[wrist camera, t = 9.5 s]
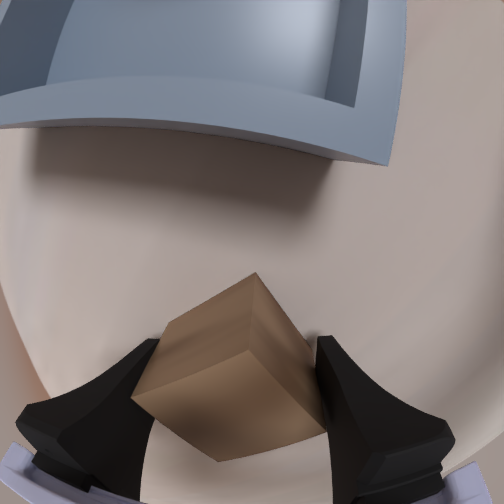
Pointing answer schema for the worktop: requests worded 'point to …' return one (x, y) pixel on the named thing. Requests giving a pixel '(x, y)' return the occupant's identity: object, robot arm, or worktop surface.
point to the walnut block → (234, 376)
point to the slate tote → (211, 69)
